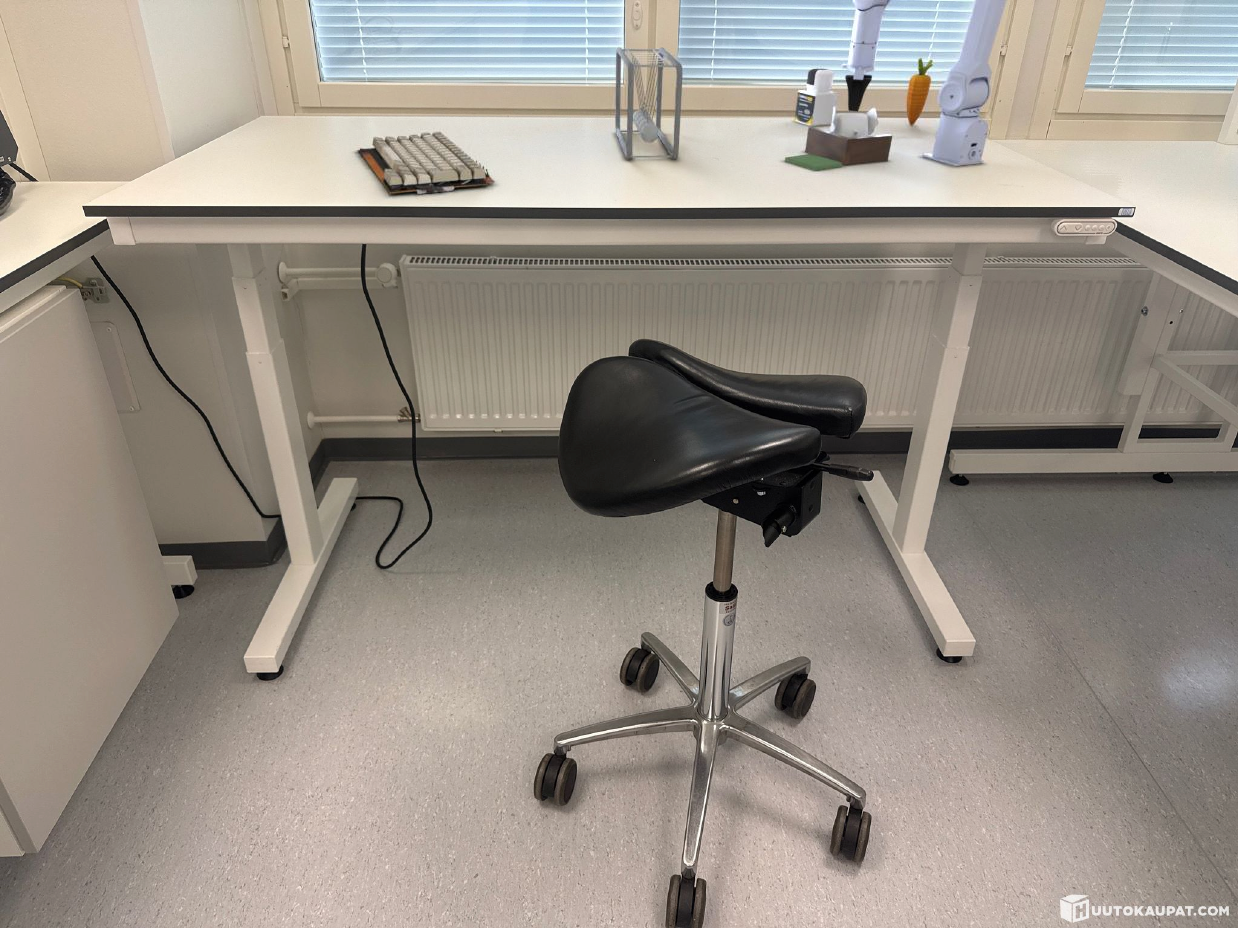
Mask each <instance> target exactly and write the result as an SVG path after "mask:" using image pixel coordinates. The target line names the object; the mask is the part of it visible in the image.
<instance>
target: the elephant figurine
mask: <svg viewBox="0 0 1238 928" xmlns="http://www.w3.org/2000/svg"><path fill="white" fill-rule="evenodd" d="M835 112H836V113H835ZM878 125H879V120H878V113H877V108H876V106H875V107H872V108H871V109H869V110H868V111H867V112H866V113H862V112H837V110H835V106H834V107H833V115H832V124H831V125H830V127H829V128H830V129H829V132H832V133H835V134H838V135H841V136H844V137H848V138H853V137H864V136H872V134H874V132H875V129H876V127H878Z"/></svg>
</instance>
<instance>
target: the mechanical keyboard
mask: <svg viewBox="0 0 1238 928" xmlns="http://www.w3.org/2000/svg"><path fill="white" fill-rule="evenodd" d="M372 146H373V147H370V148H360V147H359V149H357V150H356V151H357V152H358V153H359V155H360V157H362V159H363V160H364V161H365V162H366V163H367V165H368V167H369V168H370V169H371V171H372V172H373V173H374V174H375V175H376V177H377V178H378V179H379V180H380V183H382V185H383V187H384V188H385V189H386V190H387V192H388V194H389V195H391V194H399V193H400V194H401V193H410V192H416V193H417V195H422V194H433V193H443V192H447V193H448V192H453V191H454V190H455V188H467V187H477V186H488V185H489V184H494V183H495V180H494V179H493V178H492V177H491V176H490V174H489V171H488V168H485V166H484V165H481V162H480V163H478V160H474V159H473V158H472V157H471V156H470V155H468V154H467V153H466V152H465V151H464V150H462V148H461V147H460V146H458V145H456V144H455V143H454V142H453V140H451V139H449V138H448V137H447V136H446V135H445V134H444V133H443V132H441V131H433V132H432V133H430V132H427V131H426V132H421V133H420V135H419V134H409V136H408V137H407V136H405V135H398V136H397V137H396V138H395V137H394V136H385V137H384V138H382V137H378V136H374V137H373V139H372Z"/></svg>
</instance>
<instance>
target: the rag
mask: <svg viewBox="0 0 1238 928" xmlns="http://www.w3.org/2000/svg"><path fill="white" fill-rule="evenodd" d="M784 162H786V163H789V164H792V165H795V166H798V167H802V168H804V169H805V168H806V169H809V170H812V171H822V170H828V169H830V170H831V169H836V168H841V167H842V166H843V165H842V163H841V162H838V161H834V160H831V159H827V158H823V157H820V156H816V155H813V154H810V153H807V154H798V155H794V156H793V155H791V156H786V157H784Z"/></svg>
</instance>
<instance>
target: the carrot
mask: <svg viewBox="0 0 1238 928" xmlns="http://www.w3.org/2000/svg"><path fill="white" fill-rule="evenodd" d="M917 64H918V65H917V66H918V67H917V71H918V73H916V74H913V75H912V76H911V77H910V79H909V81H908V88H907V95H906V116H907V120H908V124H909V125H910V126H913V125H914V124H915V123H916V122H917V121H918V119H919V117H920V116H921V114H922V113H923V110H924V107H925V106H926V105H925V104H926V101H927V99H928V95H929V92H930V87H931V82H932V78H931V76H930V75H928V74H926V73H927V71H928V70H929V69H930V68H932V67H933V66H934V65H933V59H929V61H928V62H927V64H926V66H925V65H924V61H923V58H922V57H919V58H918V59H917Z"/></svg>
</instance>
